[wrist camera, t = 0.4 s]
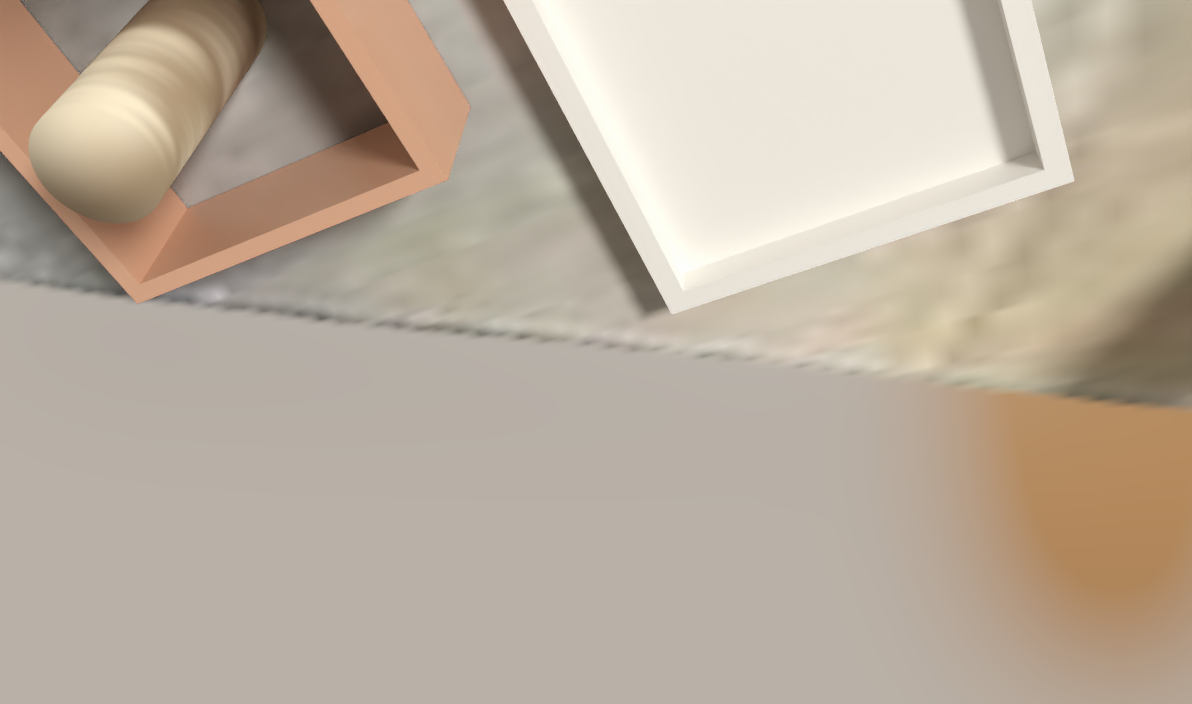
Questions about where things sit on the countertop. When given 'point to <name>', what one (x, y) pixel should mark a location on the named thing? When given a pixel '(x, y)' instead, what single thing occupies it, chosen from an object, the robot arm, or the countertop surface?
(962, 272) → the countertop surface
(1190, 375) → the countertop surface
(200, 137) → the dowel pin
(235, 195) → the peach storage bin
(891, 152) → the tray
